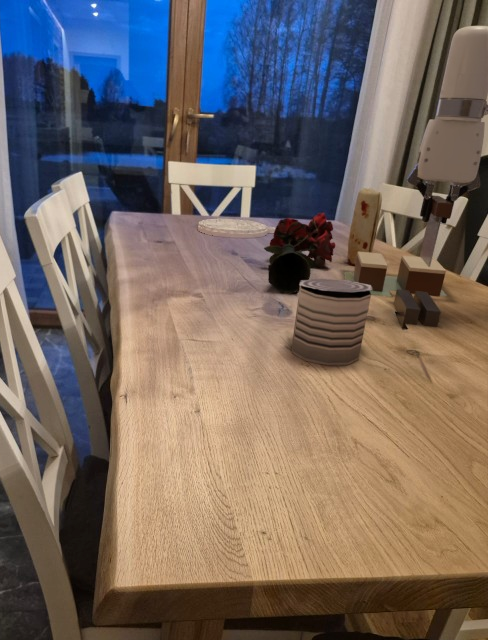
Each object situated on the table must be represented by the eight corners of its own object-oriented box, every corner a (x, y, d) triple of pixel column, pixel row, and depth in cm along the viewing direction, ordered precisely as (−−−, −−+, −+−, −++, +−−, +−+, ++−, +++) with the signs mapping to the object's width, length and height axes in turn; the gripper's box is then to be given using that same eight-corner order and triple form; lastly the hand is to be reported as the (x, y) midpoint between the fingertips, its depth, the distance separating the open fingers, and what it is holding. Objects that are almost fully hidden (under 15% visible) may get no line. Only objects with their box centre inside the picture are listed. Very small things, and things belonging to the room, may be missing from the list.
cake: (428, 282, 139) (434, 258, 137) (439, 297, 128) (446, 270, 125) (396, 279, 141) (401, 255, 138) (404, 293, 129) (410, 267, 126)
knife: (413, 254, 116) (426, 195, 111) (425, 255, 116) (439, 195, 111) (423, 267, 105) (438, 202, 100) (437, 268, 105) (452, 203, 100)
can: (290, 362, 91) (300, 288, 86) (289, 338, 101) (298, 270, 96) (364, 369, 90) (379, 294, 84) (355, 344, 100) (367, 276, 95)
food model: (342, 261, 161) (355, 185, 152) (366, 263, 160) (380, 187, 151) (345, 269, 152) (359, 189, 143) (371, 271, 151) (387, 191, 142)
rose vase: (288, 326, 131) (287, 280, 161) (361, 280, 124) (345, 240, 154) (248, 271, 126) (254, 234, 156) (321, 220, 119) (313, 191, 149)
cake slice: (376, 278, 141) (381, 253, 139) (382, 291, 130) (387, 265, 127) (353, 275, 142) (357, 251, 140) (357, 289, 131) (361, 262, 128)
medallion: (191, 224, 203) (192, 217, 202) (264, 226, 208) (265, 219, 207) (205, 237, 182) (206, 230, 181) (286, 238, 187) (287, 231, 186)
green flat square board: (434, 283, 143) (434, 280, 142) (451, 306, 125) (452, 302, 125) (343, 275, 146) (344, 271, 146) (348, 295, 128) (348, 292, 128)
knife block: (392, 307, 122) (396, 289, 120) (423, 310, 121) (427, 292, 119) (402, 328, 109) (406, 308, 107) (436, 332, 108) (441, 311, 106)
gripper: (502, 114, 101) (474, 222, 109) (407, 109, 104) (386, 215, 112) (515, 114, 95) (484, 228, 103) (414, 108, 97) (391, 221, 105)
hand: (433, 220), depth 107 cm, fingers closed on knife, 2 cm apart
